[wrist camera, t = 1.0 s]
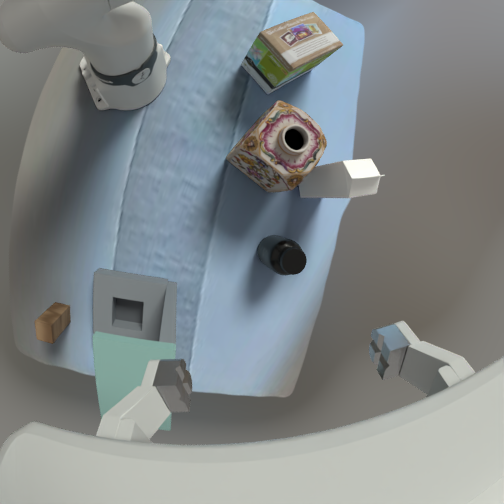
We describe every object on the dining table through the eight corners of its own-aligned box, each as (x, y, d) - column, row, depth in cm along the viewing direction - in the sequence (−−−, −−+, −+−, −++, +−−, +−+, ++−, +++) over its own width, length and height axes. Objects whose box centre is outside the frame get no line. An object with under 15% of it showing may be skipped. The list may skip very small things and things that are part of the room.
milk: (323, 194, 60) (389, 194, 39) (299, 198, 59) (360, 199, 38) (319, 167, 59) (383, 156, 38) (295, 170, 57) (354, 158, 37)
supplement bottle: (277, 271, 61) (299, 287, 49) (251, 257, 58) (268, 270, 47) (292, 243, 60) (318, 253, 49) (267, 228, 58) (288, 235, 47)
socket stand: (98, 332, 53) (58, 411, 27) (99, 268, 51) (42, 320, 25) (170, 343, 57) (170, 432, 31) (177, 280, 55) (176, 346, 29)
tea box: (268, 96, 53) (293, 69, 39) (239, 64, 50) (257, 30, 36) (313, 70, 54) (345, 44, 40) (287, 40, 51) (313, 9, 37)
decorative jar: (267, 194, 57) (304, 192, 40) (223, 159, 54) (242, 141, 36) (299, 152, 57) (343, 136, 40) (258, 118, 54) (289, 87, 36)
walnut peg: (56, 318, 50) (36, 339, 39) (55, 302, 49) (34, 321, 39) (70, 321, 51) (53, 343, 40) (69, 305, 50) (51, 325, 40)
